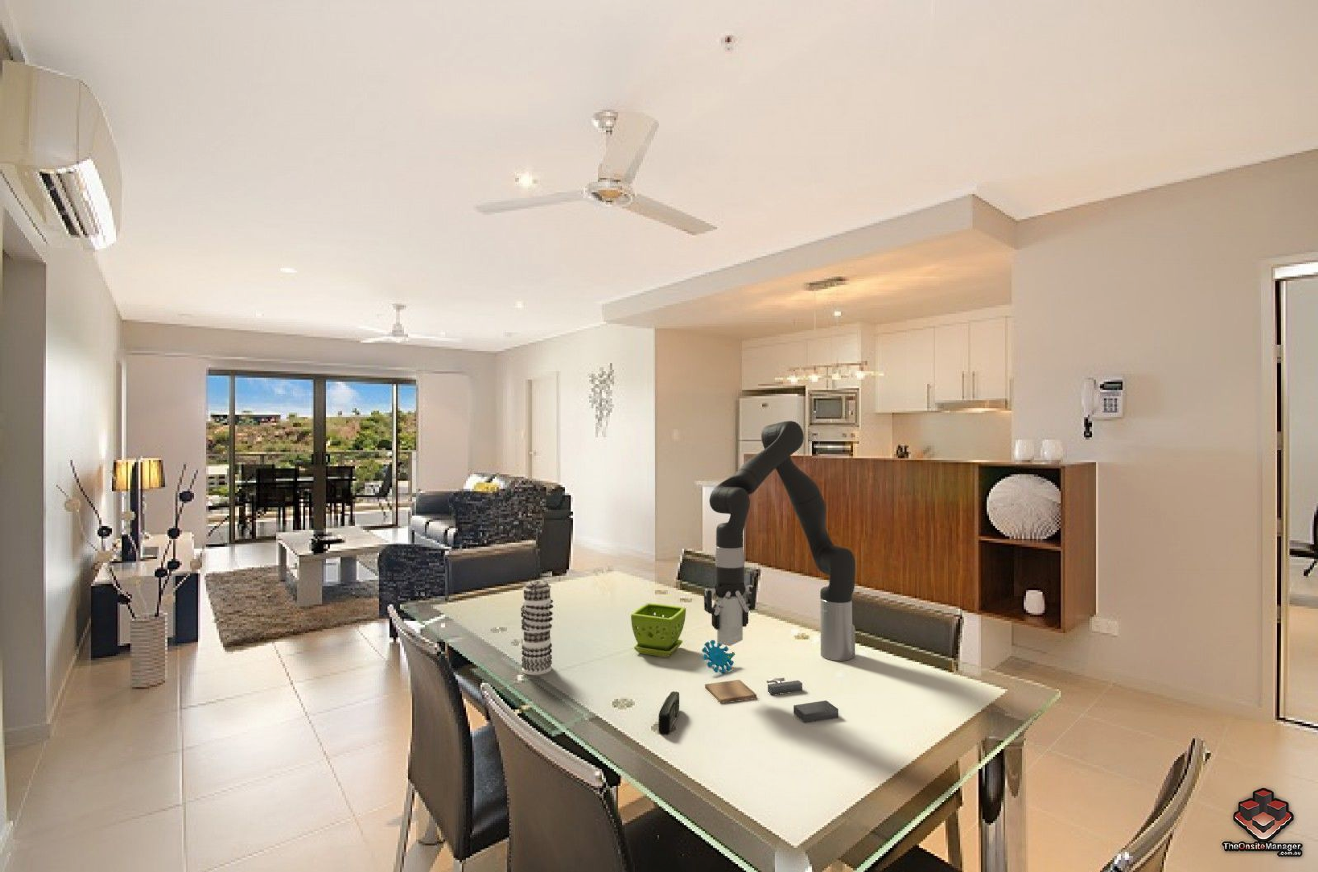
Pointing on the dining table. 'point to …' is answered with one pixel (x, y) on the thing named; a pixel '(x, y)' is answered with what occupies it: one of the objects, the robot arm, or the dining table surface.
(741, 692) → the coaster
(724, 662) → the gear
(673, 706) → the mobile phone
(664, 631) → the flower pot
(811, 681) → the dining table surface
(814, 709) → the dark grey blocks
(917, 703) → the dining table surface
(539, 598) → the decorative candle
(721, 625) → the skincare box
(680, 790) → the dining table surface
